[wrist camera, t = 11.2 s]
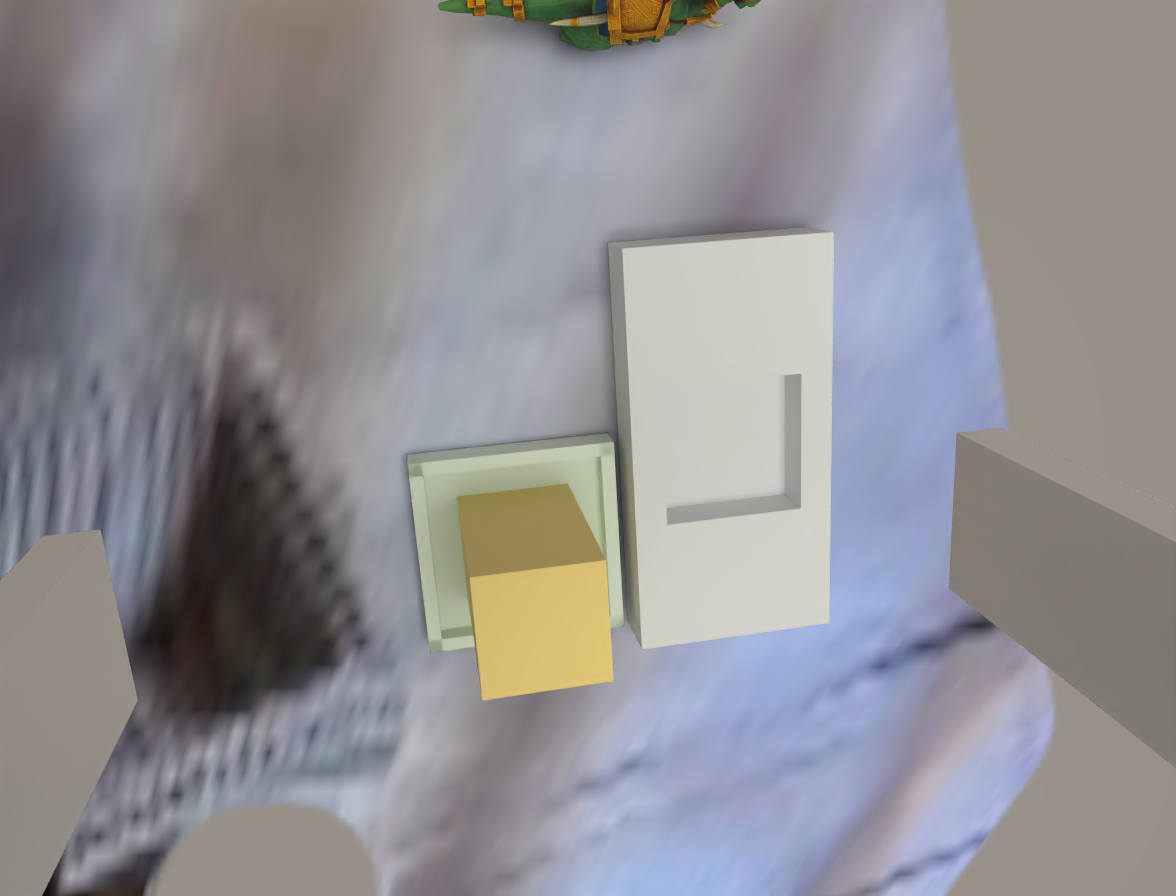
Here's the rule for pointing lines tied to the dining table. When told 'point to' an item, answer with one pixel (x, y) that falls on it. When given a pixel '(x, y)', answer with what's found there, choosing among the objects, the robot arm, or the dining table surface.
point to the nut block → (535, 591)
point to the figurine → (603, 17)
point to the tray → (497, 470)
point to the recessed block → (724, 431)
